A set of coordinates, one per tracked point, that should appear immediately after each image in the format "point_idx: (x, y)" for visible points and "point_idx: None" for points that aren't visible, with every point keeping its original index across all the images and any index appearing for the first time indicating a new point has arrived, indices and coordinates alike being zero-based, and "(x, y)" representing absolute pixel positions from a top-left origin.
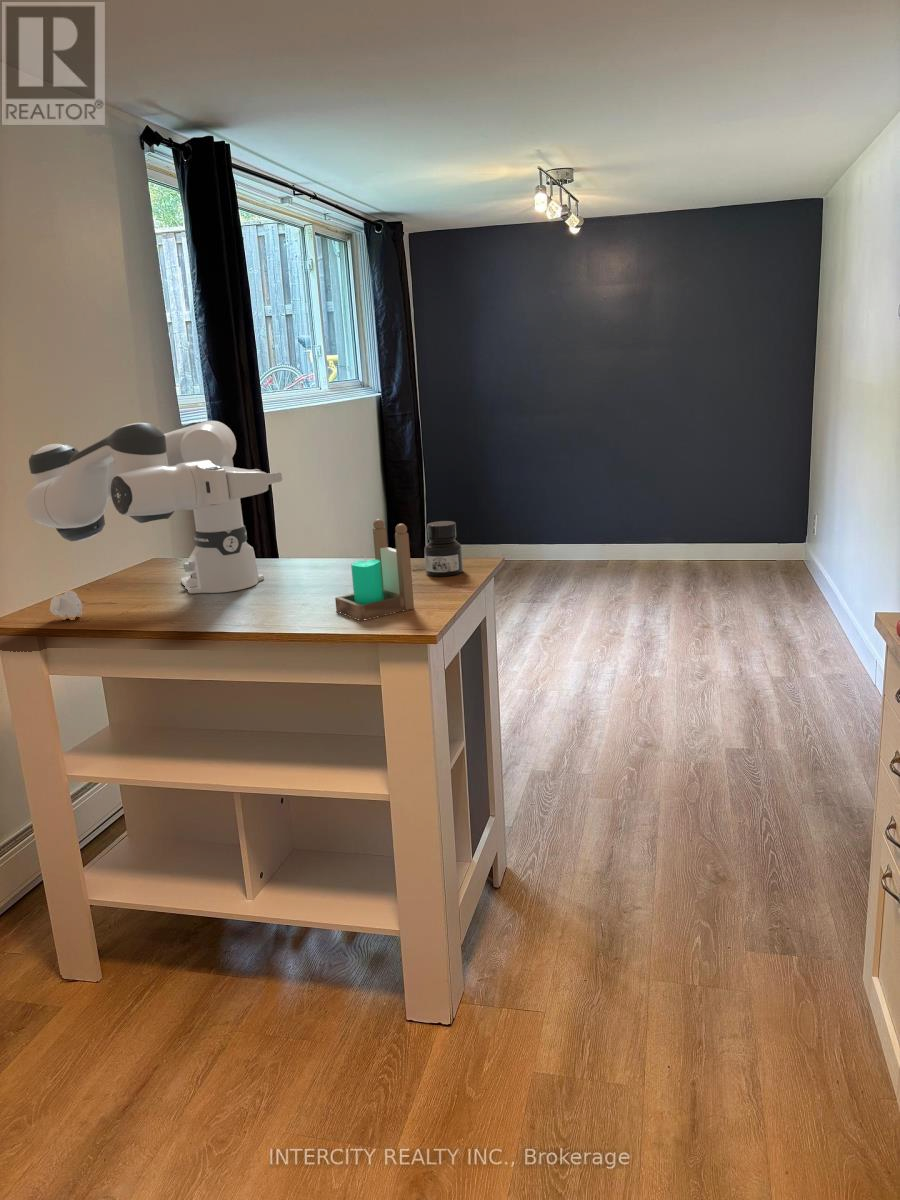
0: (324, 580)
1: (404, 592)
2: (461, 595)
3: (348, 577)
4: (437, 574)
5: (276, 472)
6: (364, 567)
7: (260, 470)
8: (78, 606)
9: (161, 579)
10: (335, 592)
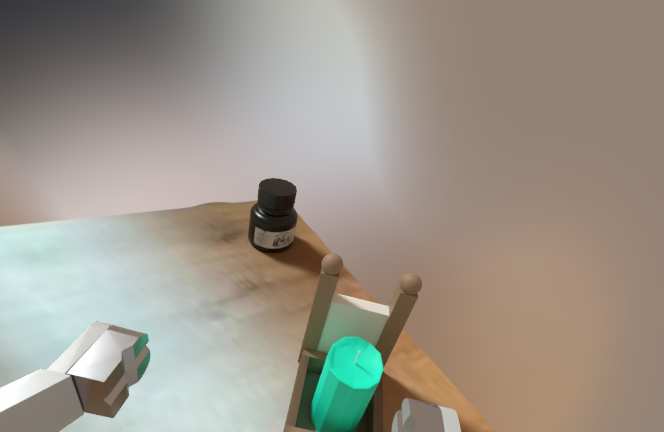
0: (105, 307)
1: (385, 363)
2: (368, 298)
3: (143, 283)
4: (278, 250)
5: (437, 422)
6: (377, 383)
7: (141, 337)
8: None
9: None
10: (180, 353)
